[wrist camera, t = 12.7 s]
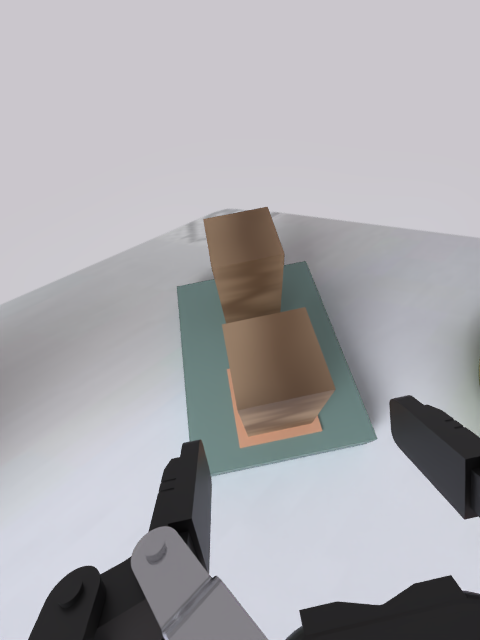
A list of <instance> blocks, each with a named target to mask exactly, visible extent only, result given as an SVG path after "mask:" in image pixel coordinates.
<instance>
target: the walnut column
mask: <svg viewBox="0 0 480 640" xmlns="http://www.w3.org/2000/svg"><path fill="white" fill-rule="evenodd" d="M203 220H204V226H205V232H206V237H207V243H208V249H209V255H210V261H211V267H212V271H213V275H214V279H215V283H216V287H217V290H218V294H219V298H220V302H221V306H222V310H223V313H224V317H225V321H226V323H231V322H236V321H241V320H246V319H250V318H255V317H260V316H265V315H270V314H275V313H279V312H280V310H281V296H282V282H283V268H284V251H283V248H282V246H281V243H280V240H279V237H278V234H277V232H276V229H275V226H274V223H273V220H272V218H271V215H270V212H269V209H268V207H264V208H259V209H254V210H248V211H243V212H238V213H233V214H228V215H223V216H217V217H212V218H207V219H203Z"/></svg>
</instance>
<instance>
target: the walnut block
mask: <svg viewBox="0 0 480 640" xmlns="http://www.w3.org/2000/svg"><path fill="white" fill-rule="evenodd" d="M222 328H223V334H224V339H225V345H226V350H227V356H228V361H229V367H230V372H231V378H232V383H233V389H234V394H235V400H236V406H237V411H238V413H239V416H240V418H241V420H242V423H243V425H244V428H245V430H246V433H247V435H248V437H250V436H255V435H260V434H264V433H269V432H274V431H278V430H283V429H287V428H292V427H297V426H301V425H306V424H310V423H312V422H313V421H314V419H315V418H316V416H317V415H318V414H319V412H320V411H321V409H322V408H323V407H324V405H325V404H326V402H327V401H328V400H329V398H330V397H331V395H332V394H333V393H334V391H335V390H336V388H335V386H334V383H333V380H332V378H331V375H330V372H329V370H328V367H327V364H326V362H325V359H324V356H323V353H322V351H321V348H320V345H319V343H318V340H317V337H316V335H315V332H314V329H313V327H312V324H311V321H310V318H309V316H308V313H307V310H306V308H305V307H303V308H299V309H294V310H289V311H284V312H279V313H275V314H270V315H265V316H260V317H255V318H250V319H246V320H241V321H236V322H231V323H226V324H222Z"/></svg>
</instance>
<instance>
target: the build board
mask: <svg viewBox="0 0 480 640" xmlns="http://www.w3.org/2000/svg"><path fill="white" fill-rule="evenodd" d="M177 295H178V307H179V319H180V331H181V343H182V355H183V367H184V379H185V391H186V403H187V416H188V428H189V440H190V441H195V440H200V439H201V440H202V443H203V446H204V450H205V454H206V458H207V461H208V465H209V469H210V474H211V476H216V475H221V474H225V473H230V472H235V471H240V470H244V469H249V468H254V467H259V466H263V465H268V464H273V463H278V462H282V461H287V460H292V459H297V458H301V457H306V456H311V455H316V454H320V453H325V452H330V451H335V450H339V449H344V448H349V447H354V446H358V445H363V444H367V443H369V442H371V441H374V440H376V439H377V437H376V434H375V432H374V429H373V427H372V424H371V422H370V419H369V417H368V414H367V412H366V409H365V407H364V404H363V402H362V399H361V397H360V394H359V392H358V389H357V387H356V385H355V382H354V380H353V377H352V375H351V372H350V370H349V367H348V365H347V362H346V360H345V357H344V355H343V352H342V350H341V347H340V345H339V342H338V340H337V337H336V335H335V332H334V330H333V328H332V325H331V323H330V320H329V318H328V315H327V313H326V310H325V308H324V305H323V303H322V300H321V298H320V295H319V293H318V290H317V288H316V285H315V283H314V280H313V278H312V275H311V273H310V271H309V268H308V266H307V263H306V261H304V262H299V263H294V264H289V265H284V268H283V282H282V296H281V310H280V312H284V311H289V310H294V309H299V308H303V307H305V308H306V310H307V313H308V316H309V318H310V321H311V324H312V327H313V329H314V332H315V335H316V337H317V340H318V343H319V345H320V348H321V351H322V353H323V356H324V359H325V362H326V364H327V367H328V370H329V372H330V375H331V378H332V380H333V383H334V386H335V388H336V390H335V391H334V393H333V394H332V395H331V397H330V398H329V400H328V401H327V402H326V404H325V405H324V407H323V408H322V409H321V411H320V412H319V414H318V415H317V416H316V418H315V419H314V421H313V422H312V423H310V424H306V425H301V426H297V427H292V428H287V429H283V430H278V431H274V432H269V433H264V434H260V435H255V436H250V437H248V435H247V433H246V430H245V428H244V425H243V423H242V420H241V418H240V416H239V413H238V411H237V406H236V400H235V394H234V389H233V383H232V378H231V372H230V367H229V361H228V356H227V350H226V345H225V339H224V334H223V328H222V324H226V321H225V317H224V313H223V310H222V306H221V302H220V298H219V294H218V290H217V287H216V283H215V279H213V280H208V281H203V282H198V283H193V284H188V285H183V286H178V287H177Z"/></svg>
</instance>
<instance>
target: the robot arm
mask: <svg viewBox="0 0 480 640" xmlns="http://www.w3.org/2000/svg"><path fill="white" fill-rule="evenodd" d="M390 420H391V432H392V436H393V439H394V441H395V443H396V444H397V446H398V447H399V448H400V449H401V450H402V451H403V452H404V454H405V455H406V456H407V457H408V458H409V459H410V460H411V461H412V462H413V463H414V465H415V466H416V467H417V468H418V469H419V470H420V471H421V472H422V473H423V474H424V476H425V477H426V478H427V479H428V480H429V481H430V482H431V483H432V484H433V485H434V487H435V488H436V489H437V490H438V491H439V492H440V493H441V494H442V495H443V496H444V497H445V499H446V500H447V501H448V502H449V503H450V504H451V505H452V506H453V507H454V508H455V510H456V511H457V512H458V513H459V514H460V515H461V516H462V517H463V518H464V519H469V518H473V517H478V516H479V517H480V438H479V437H478V436H477V435H475V434H474V433H473V432H471V431H470V430H468V429H467V428H466V427H465V428H464V427H463V425H461V424H460V423H459V422H457V421H456V420H455V421H454V419H453V418H452V417H450V416H449V415H448V414H446V413H445V412H443V411H442V410H440V409H437V408H435V407H432V406H430V405H423V404H422V403H420V402H419V401H418V400H416V399H415V398H414V397H412V396H410V395H408V396H403V397H398V398H394V399H391V400H390ZM211 492H212V483H211V474H210V469H209V465H208V461H207V458H206V454H205V450H204V446H203V443H202V440H201V439H200V440H195V441H190V442H186V443H183V444H182V449H181V455H180V457H179V458H174V459H171V461H170V462H169V463H168V465H167V466H166V468H165V469H164V472H163V476H162V480H161V484H160V488H159V493H158V496H157V500H156V504H155V508H154V512H153V516H152V520H151V524H150V528H149V532H148V533H147V534H146V535H145V536H143V537H142V538H141V540H140V541H139V542H138V543H137V545H136V547H135V548H134V550H133V553H132V556H131V557H130V558H128V559H127V560H125V561H124V562H122V563H120V564H119V565H117V566H115V567H113V568H111V569H110V570H108V571H106V572H104V573H102V574H100V573H99V571H98V570H97V568H95V567H93V566H83V567H80V568H78V569H76V570H74V571H72V572H71V573H69V574H68V575H66V576H65V577H64V578H63V579H62V580H61V581H60V582H59V583H58V584H57V585H56V586H55V587H54V588H53V590H52V591H51V593H50V594H49V596H48V597H47V599H46V601H45V603H44V605H43V608H42V610H41V612H40V614H39V617H38V619H37V621H36V623H35V625H34V628H33V630H32V632H31V634H30V637H29V639H28V640H268V639H267V638H266V636H265V635H264V634H263V632H262V631H261V630H260V629H259V627H258V626H257V625H256V624H255V622H254V621H253V620H252V618H251V617H250V616H249V615H248V613H247V612H246V611H245V609H244V608H243V607H242V606H241V604H240V603H239V602H238V601H237V599H236V598H235V597H234V595H233V594H232V593H231V592H230V590H229V589H228V588H227V587H226V585H225V584H224V583H223V582H222V580H221V579H220V578H219V577H217V576H214V577H213V578H212V577H211V576H210V575H209V558H210V525H211ZM299 611H300V616H301V622H302V626H301V627H300V628H298V629H297V630H295V631H294V632H293V633H292V634H291V635H290V636H289V637H287V639H286V640H480V594H478V593H473V592H468V591H462V590H461V588H460V587H459V586H458V584H457V583H456V581H455V580H454V579H453V577H452V576H451V575H450V576H446V577H441V578H437V579H433V580H428V581H424V582H420V583H415V584H413V585H412V586H410V587H409V588H407V589H406V590H404V591H403V592H401V593H400V594H398V595H397V596H395V597H394V598H392V599H391V600H389V601H388V602H386V603H385V604H383V605H369V604H358V603H347V602H333V603H328V604H324V605H320V606H315V607H311V608H307V609H302V610H299Z"/></svg>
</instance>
